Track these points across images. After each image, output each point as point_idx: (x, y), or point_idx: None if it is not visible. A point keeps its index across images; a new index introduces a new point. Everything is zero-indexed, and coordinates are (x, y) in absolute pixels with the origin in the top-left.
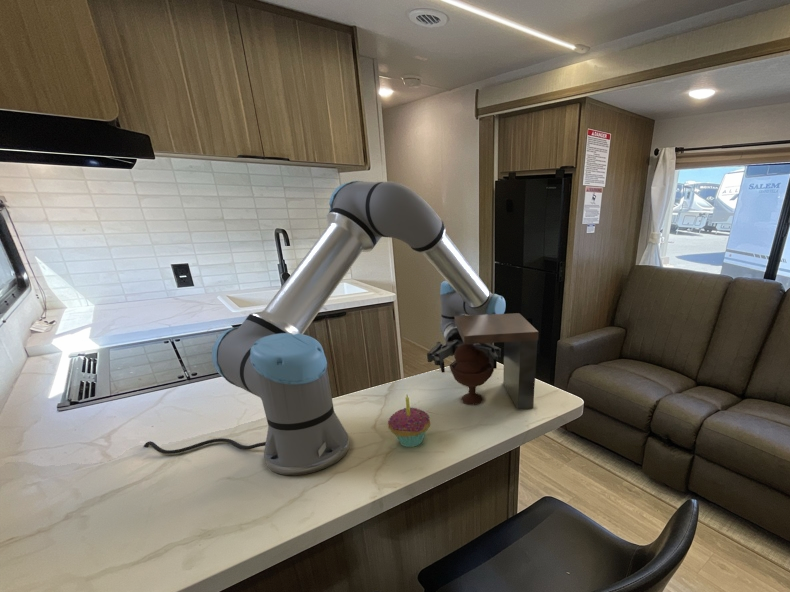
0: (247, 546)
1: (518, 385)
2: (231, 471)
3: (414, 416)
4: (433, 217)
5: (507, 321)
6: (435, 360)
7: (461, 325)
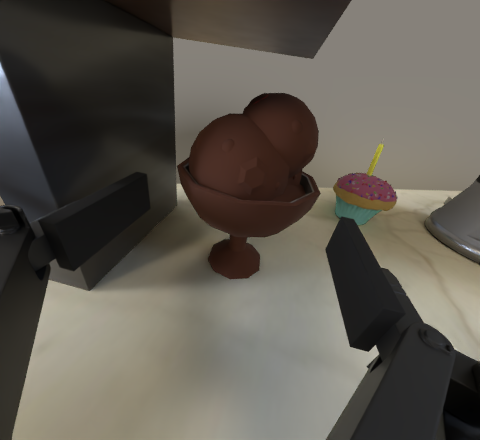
0: (426, 193)
1: (174, 160)
2: None
3: (359, 173)
4: None
5: None
6: (393, 279)
7: None
